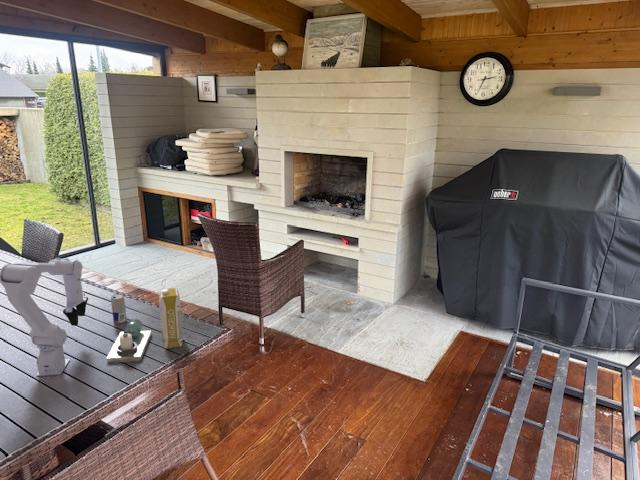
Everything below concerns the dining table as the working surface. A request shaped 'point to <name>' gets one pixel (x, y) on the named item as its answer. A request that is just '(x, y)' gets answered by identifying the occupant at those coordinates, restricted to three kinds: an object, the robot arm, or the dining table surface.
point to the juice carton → (171, 318)
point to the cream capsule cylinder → (126, 342)
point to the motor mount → (138, 340)
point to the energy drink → (118, 308)
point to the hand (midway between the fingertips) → (78, 320)
